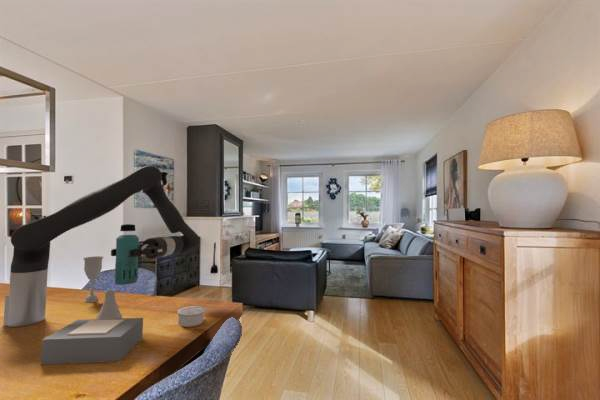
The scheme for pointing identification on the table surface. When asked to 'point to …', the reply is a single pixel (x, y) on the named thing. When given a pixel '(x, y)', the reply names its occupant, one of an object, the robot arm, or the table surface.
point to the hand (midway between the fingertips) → (121, 253)
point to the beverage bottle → (126, 257)
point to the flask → (109, 307)
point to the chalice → (92, 274)
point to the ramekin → (191, 316)
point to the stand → (92, 341)
